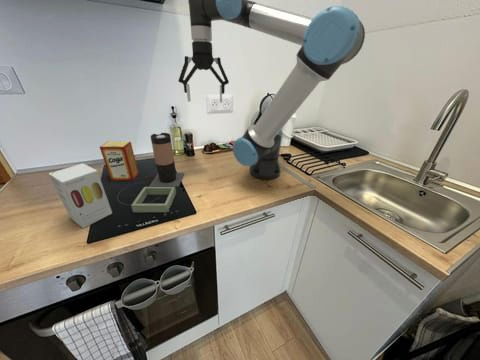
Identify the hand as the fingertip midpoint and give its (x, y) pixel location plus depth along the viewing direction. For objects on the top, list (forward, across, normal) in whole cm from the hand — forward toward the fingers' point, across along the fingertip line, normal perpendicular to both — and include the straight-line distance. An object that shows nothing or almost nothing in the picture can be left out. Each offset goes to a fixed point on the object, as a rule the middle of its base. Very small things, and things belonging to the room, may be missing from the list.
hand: (205, 101), depth 85 cm
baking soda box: (+32, +37, +10) cm, 50 cm away
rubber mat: (+32, +17, +13) cm, 38 cm away
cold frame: (+32, +17, +30) cm, 47 cm away
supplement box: (+32, +36, +37) cm, 61 cm away
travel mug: (+31, +17, +13) cm, 38 cm away
